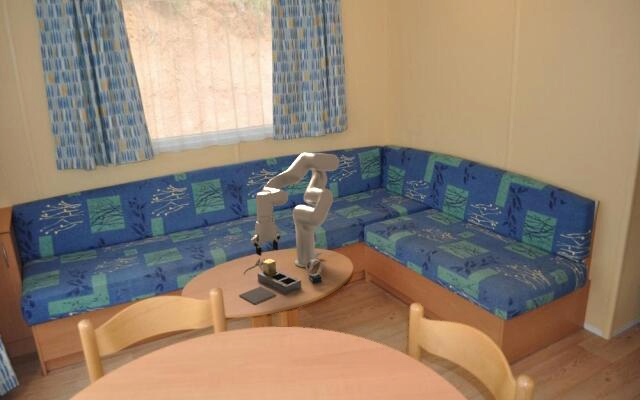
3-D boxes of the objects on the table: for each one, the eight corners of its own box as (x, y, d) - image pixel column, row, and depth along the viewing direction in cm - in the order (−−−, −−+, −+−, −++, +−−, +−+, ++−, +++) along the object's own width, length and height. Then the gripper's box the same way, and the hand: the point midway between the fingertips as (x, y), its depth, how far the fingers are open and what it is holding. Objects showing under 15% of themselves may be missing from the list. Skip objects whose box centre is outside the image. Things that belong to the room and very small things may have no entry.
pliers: (243, 274, 239) (247, 259, 259) (243, 276, 240) (247, 260, 259) (262, 273, 240) (265, 258, 259) (262, 275, 240) (265, 259, 259)
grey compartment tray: (258, 280, 233) (257, 273, 232) (272, 274, 239) (272, 267, 238) (286, 294, 217) (285, 286, 216) (301, 288, 223) (300, 280, 222)
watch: (305, 280, 231) (304, 259, 228) (320, 277, 234) (319, 256, 231) (309, 285, 226) (308, 263, 223) (324, 281, 229) (324, 260, 226)
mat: (260, 287, 226) (260, 286, 226) (276, 295, 217) (276, 294, 217) (239, 296, 218) (239, 294, 218) (254, 304, 209) (254, 303, 209)
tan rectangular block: (271, 277, 236) (269, 258, 233) (276, 280, 233) (275, 261, 230) (264, 280, 233) (262, 261, 231) (269, 283, 230) (268, 263, 227)
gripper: (275, 212, 233) (276, 245, 237) (245, 220, 221) (247, 255, 226) (284, 215, 227) (286, 249, 232) (254, 223, 216) (257, 259, 220)
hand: (267, 252), depth 229 cm, fingers open, 9 cm apart
